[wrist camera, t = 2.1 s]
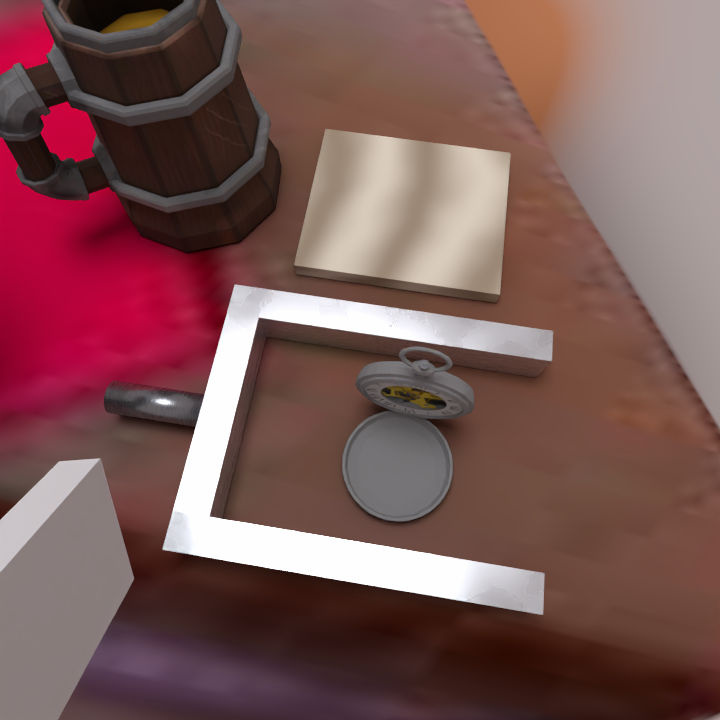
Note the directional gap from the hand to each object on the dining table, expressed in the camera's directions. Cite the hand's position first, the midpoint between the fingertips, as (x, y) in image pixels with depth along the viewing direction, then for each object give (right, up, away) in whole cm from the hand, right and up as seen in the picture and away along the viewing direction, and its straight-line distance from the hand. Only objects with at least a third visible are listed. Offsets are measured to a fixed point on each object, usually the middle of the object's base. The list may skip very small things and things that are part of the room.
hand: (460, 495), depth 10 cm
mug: (-15, +15, +30) cm, 37 cm away
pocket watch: (+1, -3, +24) cm, 24 cm away
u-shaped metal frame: (-4, -2, +24) cm, 24 cm away
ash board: (+2, +13, +30) cm, 32 cm away
